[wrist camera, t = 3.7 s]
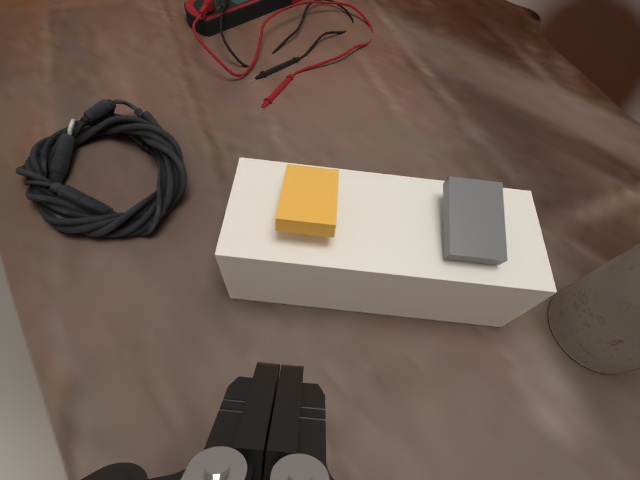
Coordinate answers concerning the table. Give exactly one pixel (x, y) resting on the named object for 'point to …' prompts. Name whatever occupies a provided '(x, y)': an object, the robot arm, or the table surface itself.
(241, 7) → the digital clamp meter
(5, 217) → the table surface
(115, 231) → the cable
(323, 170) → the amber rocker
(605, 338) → the thermos bottle
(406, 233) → the switch box
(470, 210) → the flat grey slab box
